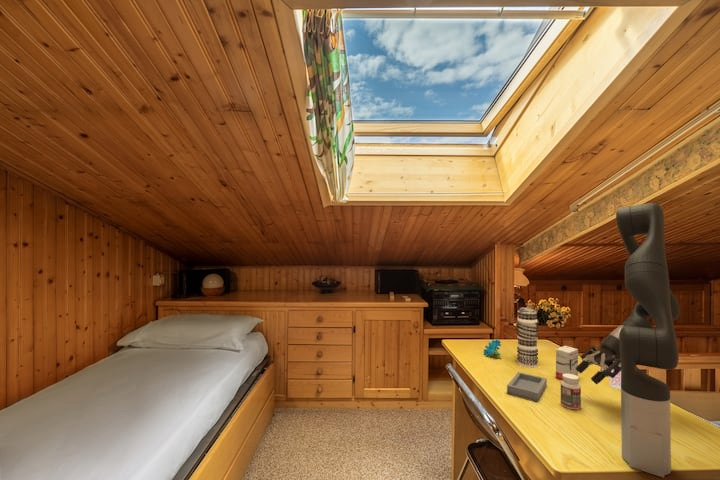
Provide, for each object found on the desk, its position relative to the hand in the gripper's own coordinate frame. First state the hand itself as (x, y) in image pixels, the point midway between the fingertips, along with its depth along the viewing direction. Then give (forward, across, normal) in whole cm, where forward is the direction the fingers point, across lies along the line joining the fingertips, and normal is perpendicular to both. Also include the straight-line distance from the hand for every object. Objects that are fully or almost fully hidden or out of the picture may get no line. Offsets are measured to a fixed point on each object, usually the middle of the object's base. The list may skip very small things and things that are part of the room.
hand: (585, 376), depth 109 cm
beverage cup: (-8, -16, +22) cm, 28 cm away
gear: (+18, -48, -3) cm, 52 cm away
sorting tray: (+17, -11, -3) cm, 21 cm away
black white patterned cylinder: (+9, -38, +6) cm, 40 cm away
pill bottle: (+11, 0, +4) cm, 11 cm away
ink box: (+3, -24, +12) cm, 27 cm away
